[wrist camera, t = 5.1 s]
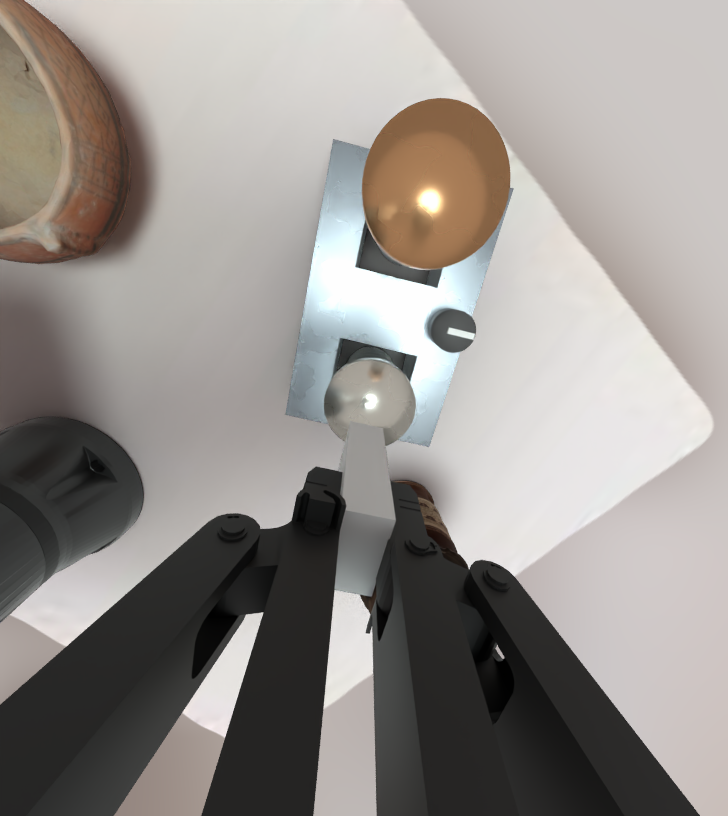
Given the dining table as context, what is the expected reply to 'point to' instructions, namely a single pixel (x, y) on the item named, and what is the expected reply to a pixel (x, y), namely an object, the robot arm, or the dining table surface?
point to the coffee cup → (428, 533)
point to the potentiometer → (452, 330)
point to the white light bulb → (370, 395)
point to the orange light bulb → (435, 184)
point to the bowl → (55, 145)
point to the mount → (374, 304)
